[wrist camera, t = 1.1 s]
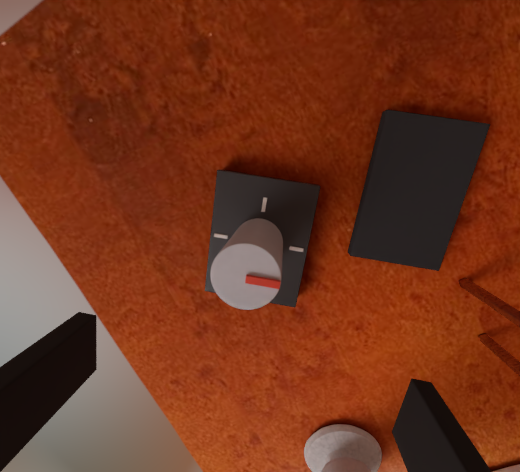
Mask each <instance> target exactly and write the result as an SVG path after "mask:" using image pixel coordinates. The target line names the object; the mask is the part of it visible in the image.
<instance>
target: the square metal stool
mask: <svg viewBox="0 0 520 472" xmlns="http://www.w3.org/2000/svg"><path fill="white" fill-rule="evenodd" d="M459 283H460V286H461V287H462V288H463V289H465V290H466V291H468V292H469V293H471V294H472V295H474V296H475V297H477V298H478V299H479V300H481V301H482V302H484V303H485V304H487V305H488V306H490V307H491V308H493V309H494V310H495V311H497V312H498V313H500V314H501V315H503V316H504V317H506V318H507V319H509V320H510V321H512V322H513V323H514V324H516V325H517V326H519V327H520V311H518V310H517V309H515V308H513V307H512V306H510V305H509V304H507V303H505V302H504V301H502V300H501V299H499V298H497V297H496V296H494V295H492V294H491V293H489V292H488V291H486V290H484V289H483V288H481V287H480V286H478V285H476V284H475V283H473V282H471V281H470V280H468V279H467V278H465V279H462V280H459ZM479 338H480V341H481V342H482V343H483V344H484V345H485V346H486V347H488V348H489V349H490V350H491V351H492V352H493V353H494V354H495V355H496V356H498V357H499V358H500V359H501V360H502V361H503V362H504V363H505V364H506V365H508V366H509V367H510V368H511V369H512V370H513V371H514V372H515V373H517V374H518V375H519V376H520V362H519V361H518V360H517V359H516V358H514V357H513V356H512V355H511V354H510V353H508V352H507V351H506V350H505V349H504V348H502V347H501V346H500V345H499V344H498V343H496V342H495V341H494V340H493V339H492V338H490V337H489V336H488V335H487V334H483V335H479Z"/></svg>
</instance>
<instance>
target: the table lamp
mask: <svg viewBox="0 0 520 472" xmlns="http://www.w3.org/2000/svg"><path fill="white" fill-rule="evenodd" d="M304 457H305V461H306V463H307V465H308V466H309V468H310V469H311V471H312V472H377V471H378V469H379V466H380V464H381V460H382V452H381V448H380V446H379V443H378V442H377V441H376V439H375V438H374V437H373V436H372V435H370V434H369V433H368V432H366V431H364V430H363V429H360V428H357V427H355V426H352V425H347V424H333V425H330V426H326V427H322V428H321V429H319V430H318V431H317V432H315V433H314V434H313V435H312V436H311V437H310V438H309V439H308V441H307V442H306V444H305V448H304Z"/></svg>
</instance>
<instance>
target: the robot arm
mask: <svg viewBox="0 0 520 472" xmlns="http://www.w3.org/2000/svg"><path fill="white" fill-rule="evenodd" d="M95 370H96V315H91V314H86V313H81V312H78V313H77V314H75V315H74V316H73V317H71V318H70V319H68V320H67V321H65V322H64V323H63V324H61V325H60V326H58V327H57V328H56V329H54V330H53V331H51V332H50V333H48V334H47V335H46V336H44V337H43V338H41V339H40V340H38V341H37V342H36V343H34V344H33V345H31V346H30V347H28V348H27V349H26V350H24V351H23V352H21V353H20V354H18V355H17V356H16V357H14V358H13V359H11V360H10V361H9V362H7V363H6V364H4V365H3V366H1V367H0V472H1V471H2V470H3V468H4V467H5V466H6V465H7V464H8V463H9V462H10V461H11V460H12V459H13V458H14V457H15V456H16V455H17V454H18V453H19V451H20V450H21V449H22V448H23V447H24V446H25V445H26V444H27V443H28V442H29V441H30V440H31V439H32V438H33V436H34V435H35V434H36V433H37V432H38V431H39V430H40V429H41V428H42V427H43V426H44V425H45V424H46V423H47V422H48V420H49V419H50V418H51V417H52V416H53V415H54V414H55V413H56V412H57V411H58V410H59V409H60V408H61V407H62V406H63V405H64V403H65V402H66V401H67V400H68V399H69V398H70V397H71V396H72V395H73V394H74V393H75V392H76V390H78V388H79V387H80V386H81V385H82V384H83V383H84V382H85V381H86V380H87V379H88V378H89V376H91V375H92V373H93V372H94V371H95ZM392 433H393V436H394V438H395V441H396V443H397V446H398V448H399V451H400V453H401V456H402V458H403V461H404V463H405V466H406V468H407V471H408V472H491V470H490V469H489V467H488V466H487V464H486V463H485V461H484V460H483V458H482V457H481V455H480V454H479V452H478V451H477V449H476V448H475V446H474V445H473V443H472V442H471V441H470V439H469V438H468V436H467V435H466V433H465V432H464V430H463V429H462V427H461V426H460V424H459V423H458V421H457V420H456V418H455V417H454V415H453V414H452V412H451V411H450V409H449V408H448V406H447V405H446V404H445V402H444V401H443V399H442V398H441V396H440V395H439V393H438V392H437V390H436V389H435V387H434V386H433V384H432V383H431V382H426V381H421V380H416V379H411V382H410V384H409V387H408V390H407V392H406V395H405V398H404V400H403V403H402V406H401V408H400V411H399V414H398V416H397V419H396V422H395V424H394V427H393V430H392Z"/></svg>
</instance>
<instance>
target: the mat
mask: <svg viewBox="0 0 520 472" xmlns="http://www.w3.org/2000/svg"><path fill="white" fill-rule="evenodd" d="M489 126H490V124H486V123H479V122H472V121H465V120H458V119H451V118H443V117H436V116H429V115H422V114H415V113H408V112H401V111H394V110H386V111H384V112H383V113H382V116H381V120H380V124H379V128H378V132H377V136H376V141H375V145H374V149H373V153H372V157H371V161H370V165H369V169H368V173H367V177H366V181H365V185H364V189H363V193H362V197H361V201H360V205H359V209H358V213H357V217H356V221H355V225H354V229H353V233H352V237H351V241H350V245H349V249H348V253H349V254H350V256H356V257H361V258H367V259H373V260H379V261H385V262H391V263H396V264H402V265H408V266H414V267H420V268H426V269H431V270H437V271H439V269H440V266H441V263H442V260H443V258H444V255H445V252H446V249H447V246H448V243H449V240H450V238H451V235H452V232H453V229H454V226H455V223H456V220H457V218H458V215H459V212H460V209H461V206H462V203H463V200H464V198H465V195H466V192H467V189H468V186H469V183H470V181H471V178H472V175H473V172H474V169H475V166H476V163H477V161H478V158H479V155H480V152H481V149H482V146H483V143H484V141H485V138H486V135H487V132H488V129H489Z"/></svg>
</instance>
